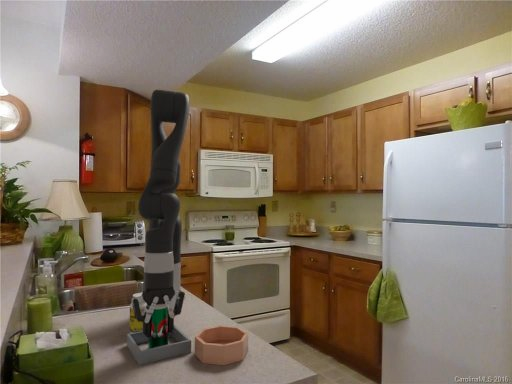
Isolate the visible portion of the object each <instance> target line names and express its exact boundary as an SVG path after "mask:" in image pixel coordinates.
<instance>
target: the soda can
mask: <svg viewBox="0 0 512 384" xmlns="http://www.w3.org/2000/svg"><path fill="white" fill-rule="evenodd" d="M168 320H169V313H168V307H167V306H166V304H165V303H161V304H156V306H155V308H154V310H153V314H152V315H151V318H150V320H149V322H150V337H148V342H147V348H148V349H151V348H155V347H160V346H164V345H168V344H169V337H168Z"/></svg>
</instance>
